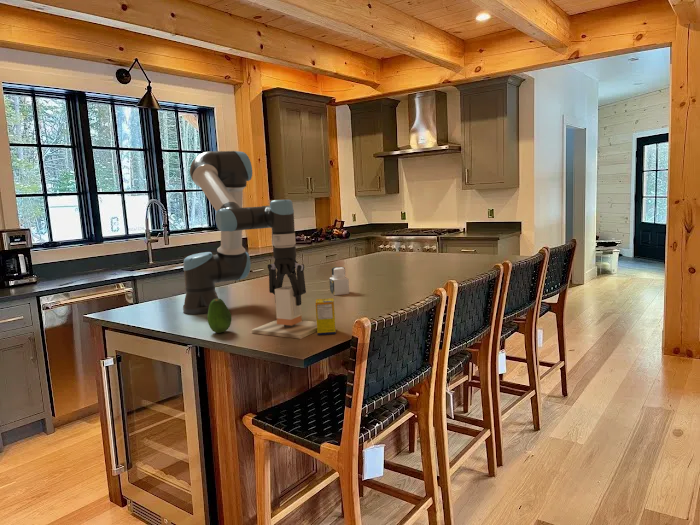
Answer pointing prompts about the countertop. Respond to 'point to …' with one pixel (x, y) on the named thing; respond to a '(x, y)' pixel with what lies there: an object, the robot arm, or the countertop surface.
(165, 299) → the countertop surface
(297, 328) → the pipe stand
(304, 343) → the countertop surface
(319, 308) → the supplement box
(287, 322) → the ring
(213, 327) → the avocado
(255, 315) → the countertop surface
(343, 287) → the medicine bottle
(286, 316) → the sleeve
